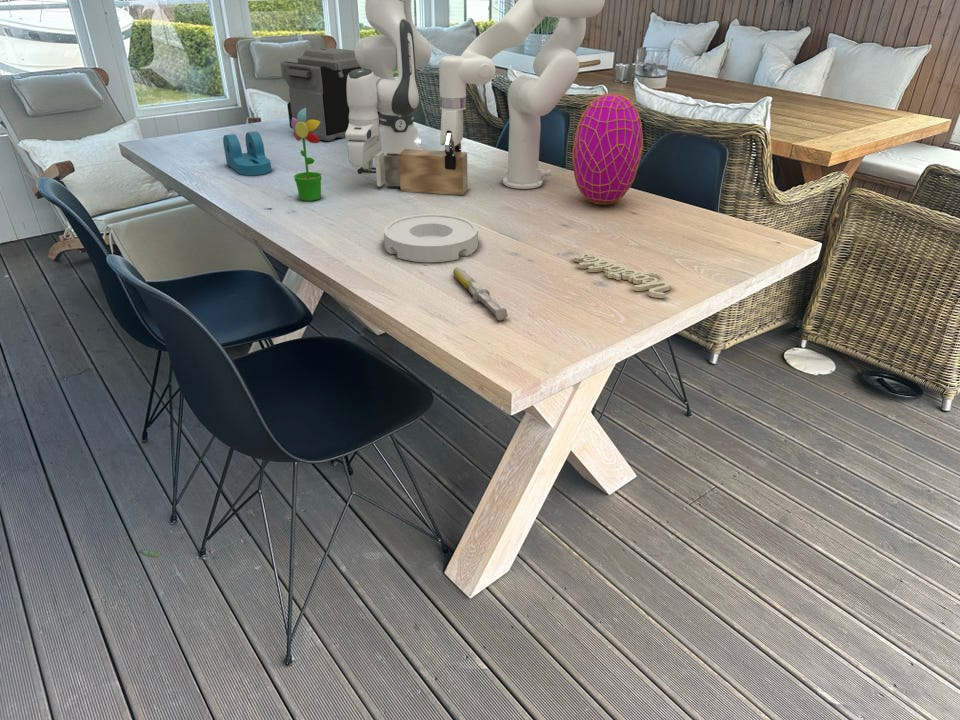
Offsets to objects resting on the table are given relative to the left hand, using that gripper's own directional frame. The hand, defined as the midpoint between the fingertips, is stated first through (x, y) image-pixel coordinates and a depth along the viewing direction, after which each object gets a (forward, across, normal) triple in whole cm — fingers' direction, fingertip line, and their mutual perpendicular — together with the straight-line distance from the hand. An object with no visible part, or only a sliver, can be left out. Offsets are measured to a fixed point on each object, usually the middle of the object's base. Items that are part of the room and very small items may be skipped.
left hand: (368, 174), depth 212 cm
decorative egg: (+4, +2, +72) cm, 72 cm away
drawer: (+3, 0, +10) cm, 10 cm away
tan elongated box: (+4, 0, +21) cm, 21 cm away
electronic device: (+4, -70, -36) cm, 79 cm away
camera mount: (+4, -10, -44) cm, 46 cm away
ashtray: (+4, +46, +31) cm, 55 cm away
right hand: (-4, 0, +27) cm, 27 cm away
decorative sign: (+4, +55, +78) cm, 96 cm away
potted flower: (+4, +16, -13) cm, 21 cm away
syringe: (+4, +73, +48) cm, 87 cm away
